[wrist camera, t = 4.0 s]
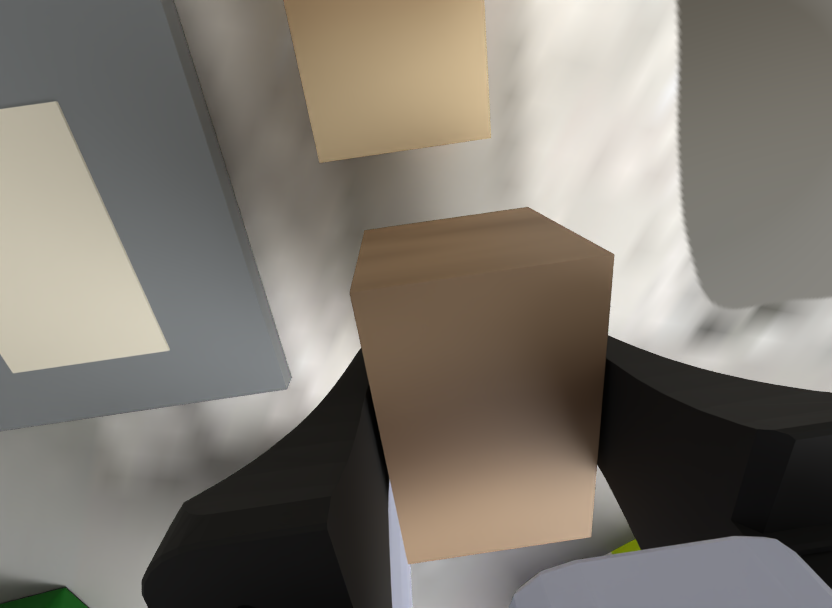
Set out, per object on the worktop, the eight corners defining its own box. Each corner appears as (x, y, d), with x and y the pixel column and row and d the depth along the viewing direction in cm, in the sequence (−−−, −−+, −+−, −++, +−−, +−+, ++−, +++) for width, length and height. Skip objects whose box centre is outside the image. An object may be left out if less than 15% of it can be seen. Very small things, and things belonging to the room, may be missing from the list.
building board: (291, 377, 20) (286, 390, 19) (-25, 423, 20) (-47, 439, 19) (168, -15, 13) (150, -27, 12) (-308, 51, 13) (-366, 44, 12)
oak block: (461, 135, 16) (491, 138, 11) (339, 153, 16) (319, 163, 11) (440, -134, 13) (470, -283, 8) (286, -112, 13) (227, -249, 8)
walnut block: (530, 414, 15) (590, 536, 11) (402, 433, 15) (407, 564, 11) (527, 207, 12) (614, 254, 7) (364, 230, 12) (349, 292, 7)
